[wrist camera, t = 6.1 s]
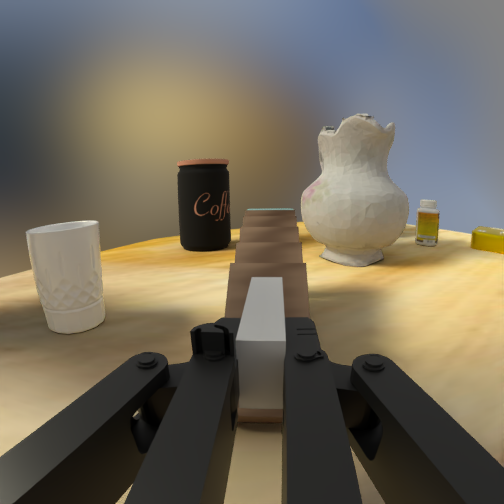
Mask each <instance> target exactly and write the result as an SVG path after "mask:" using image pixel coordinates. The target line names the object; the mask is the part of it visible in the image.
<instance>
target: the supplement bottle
mask: <svg viewBox="0 0 504 504" xmlns="http://www.w3.org/2000/svg"><path fill="white" fill-rule="evenodd" d="M420 206H421V208H418V209H417V221H416V238H415V241H416V243H417V244H419V245H423V246H435V245H437V241H438V228H439V210H437V209H436V206H437V205H436V201H434V200H421V203H420Z"/></svg>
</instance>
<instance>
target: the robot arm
mask: <svg viewBox="0 0 504 504" xmlns="http://www.w3.org/2000/svg"><path fill="white" fill-rule="evenodd" d="M190 333H191V342H192V351H193V355H192V357H191V359H190V361H189V362H186V363H180V364H171V365H168V361H167V358H166V357H165V356H164V355H162V354H159V353H153V352H144V353H141V354H137V355H135V356H133V357H131V358H130V359H129V360H127V361H126V362H125V363H123V364H122V365H121V366H119V367H118V368H117V369H116V370H114V371H113V372H112V373H110V374H109V375H108V376H106V377H105V378H104V379H103V380H101V381H100V382H99V383H97V384H96V385H95V386H93V387H92V388H91V389H89V390H88V391H87V392H86V393H84V394H83V395H82V396H80V397H79V398H78V399H76V400H75V401H74V402H72V403H71V404H70V405H69V406H67V407H66V408H65V409H63V410H62V411H61V412H59V413H58V414H57V415H55V416H54V417H53V418H51V419H50V420H49V421H47V422H46V423H45V424H44V425H42V426H41V427H40V428H38V429H37V430H36V431H34V432H33V433H32V434H30V435H29V436H28V437H26V438H25V439H24V440H22V441H21V442H20V443H18V444H17V445H16V446H14V447H13V448H12V449H10V450H9V451H8V452H6V453H5V454H4V455H2V456H1V457H0V504H115V503H116V502H117V501H118V500H119V499H120V498H121V497H122V495H123V494H124V493H125V492H126V491H127V490H128V488H129V487H130V486H131V485H132V484H133V485H132V487H131V490H130V492H129V494H128V496H127V498H126V501H125V503H124V504H223V503H224V498H225V492H226V486H227V480H228V475H229V469H230V463H231V457H232V451H233V445H234V440H235V434H236V428H237V422H238V408H237V407H238V401H239V408H251V409H283V414H282V504H362V499H361V494H360V489H359V484H358V480H357V475H356V470H355V466H354V461H353V457H352V452H351V448H352V449H353V451H354V453H355V454H356V456H357V458H358V459H359V461H360V462H361V464H362V466H363V467H364V469H365V471H366V472H367V474H368V476H369V477H370V479H371V481H372V482H373V484H374V485H375V487H376V489H377V490H378V492H379V494H380V495H381V497H382V498H383V500H384V502H385V503H386V504H504V467H503V466H501V465H500V464H499V463H498V462H497V461H496V460H495V459H494V458H493V457H492V456H491V455H490V454H489V453H488V452H487V451H486V450H485V449H484V448H483V447H482V446H481V445H480V444H479V443H478V442H477V441H476V440H475V439H474V438H473V437H472V436H471V435H470V434H469V433H468V432H467V431H466V430H465V429H464V428H462V427H461V426H460V425H459V424H458V423H457V422H456V421H455V420H454V419H453V418H452V417H451V416H450V415H449V414H448V413H447V412H446V411H445V410H444V409H443V408H442V407H441V406H439V405H438V404H437V403H436V402H435V401H434V400H433V399H432V398H431V397H430V396H429V395H428V394H427V393H426V392H425V391H424V390H423V389H422V388H421V387H419V386H418V385H417V384H416V383H415V382H414V381H413V380H412V379H411V378H410V377H409V376H408V375H407V374H406V373H405V372H404V371H402V370H401V369H400V368H399V367H398V366H397V365H396V364H395V363H394V362H393V361H392V360H390V359H389V358H387V357H385V356H382V355H379V354H366V355H362V356H359V357H357V358H356V359H354V360H353V364H352V366H347V365H340V364H336V363H333V362H331V361H329V359H328V356H327V354H326V353H325V352H324V351H323V350H321V347H320V343H319V339H318V335H317V331H316V328H315V324H314V322H313V321H312V320H311V319H309V318H308V317H285V315H284V299H283V283H282V277H252V278H251V282H250V286H249V290H248V294H247V298H246V302H245V306H244V310H243V313H242V317H241V318H220V319H219V320H218V321H216V322H215V323H207V324H202V325H199V326H197V327H194V328H193V329H192V330H191V331H190ZM137 410H138V412H139V413H138V414H137V415H136V416H134V417H133V415H134V413H135V412H136V411H137ZM350 446H351V448H350Z"/></svg>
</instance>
